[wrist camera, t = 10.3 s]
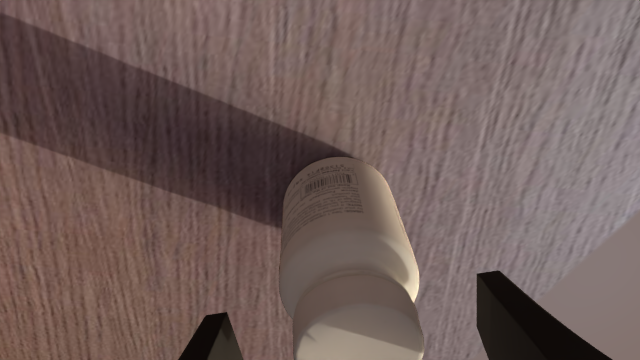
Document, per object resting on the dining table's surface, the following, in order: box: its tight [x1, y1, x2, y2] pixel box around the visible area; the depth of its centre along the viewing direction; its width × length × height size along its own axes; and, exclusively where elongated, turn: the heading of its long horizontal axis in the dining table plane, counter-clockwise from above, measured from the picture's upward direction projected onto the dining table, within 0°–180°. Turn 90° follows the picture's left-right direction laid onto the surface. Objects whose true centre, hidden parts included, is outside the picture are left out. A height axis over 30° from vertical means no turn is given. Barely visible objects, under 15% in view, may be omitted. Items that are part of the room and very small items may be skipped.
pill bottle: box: [279, 157, 424, 360], centre depth 15 cm, size 4×4×8 cm
